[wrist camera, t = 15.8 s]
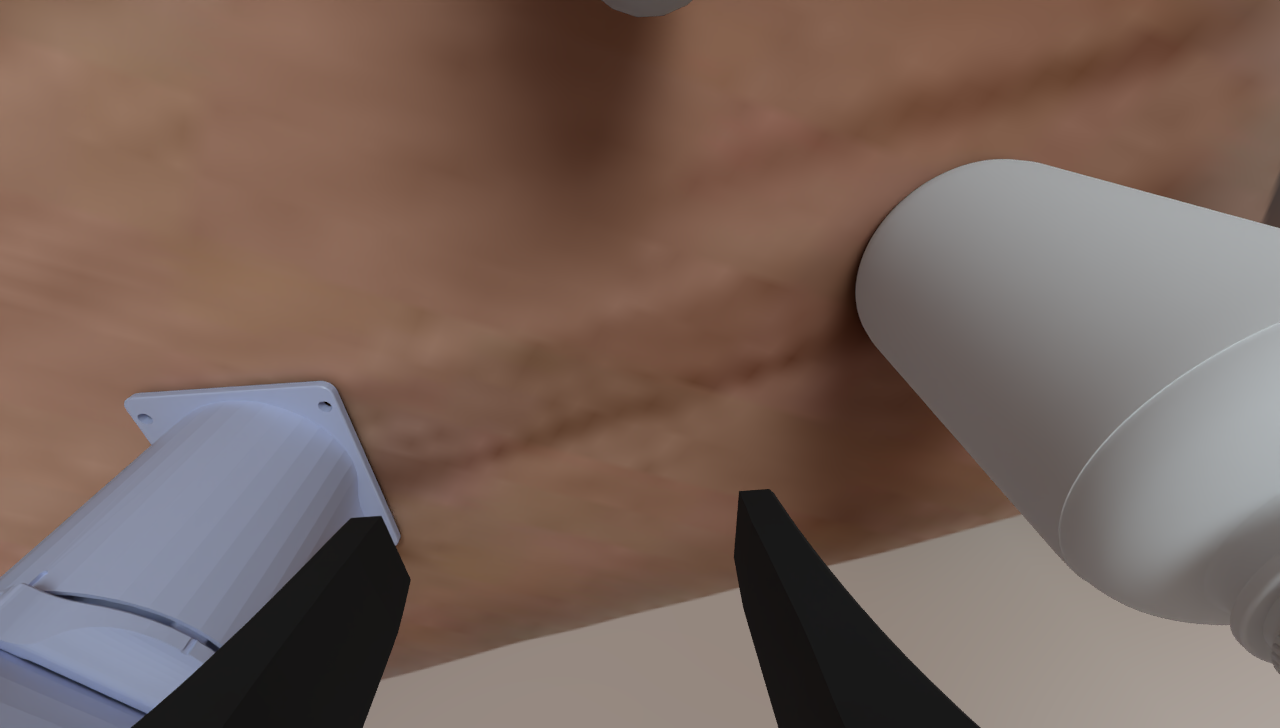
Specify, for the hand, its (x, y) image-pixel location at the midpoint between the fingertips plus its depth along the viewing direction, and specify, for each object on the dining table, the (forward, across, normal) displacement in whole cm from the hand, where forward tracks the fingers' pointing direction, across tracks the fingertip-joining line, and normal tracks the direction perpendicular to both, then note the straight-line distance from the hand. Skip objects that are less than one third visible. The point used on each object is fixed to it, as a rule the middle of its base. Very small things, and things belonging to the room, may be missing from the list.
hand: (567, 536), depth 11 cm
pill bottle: (+11, -14, -1) cm, 17 cm away
